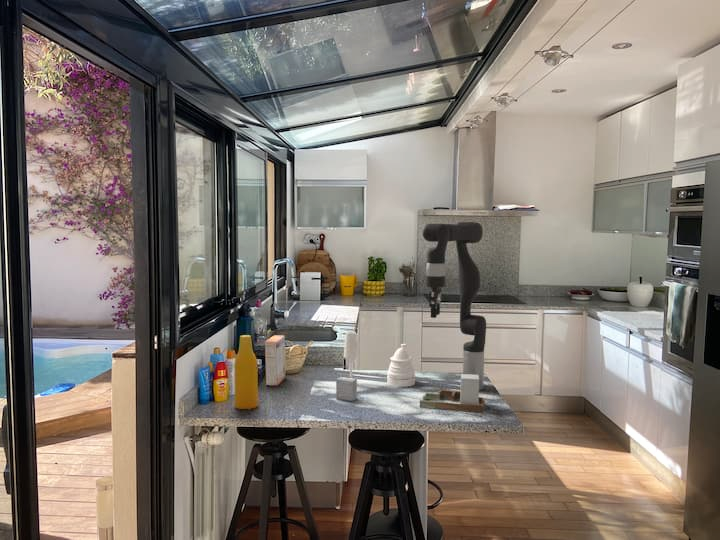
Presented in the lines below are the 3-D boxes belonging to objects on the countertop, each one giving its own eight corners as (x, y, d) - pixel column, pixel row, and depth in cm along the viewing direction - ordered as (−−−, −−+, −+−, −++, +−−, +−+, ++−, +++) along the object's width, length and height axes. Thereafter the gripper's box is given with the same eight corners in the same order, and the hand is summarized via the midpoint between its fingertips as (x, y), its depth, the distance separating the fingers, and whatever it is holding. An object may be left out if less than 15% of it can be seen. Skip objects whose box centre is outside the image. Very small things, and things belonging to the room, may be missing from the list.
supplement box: (478, 410, 221) (479, 379, 220) (459, 409, 223) (460, 378, 222) (478, 404, 229) (479, 374, 228) (460, 403, 230) (460, 373, 229)
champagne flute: (360, 385, 256) (360, 333, 254) (345, 386, 254) (345, 334, 252) (355, 381, 263) (355, 331, 261) (342, 382, 261) (342, 331, 259)
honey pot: (396, 377, 269) (396, 341, 267) (419, 382, 261) (420, 344, 260) (381, 383, 258) (382, 345, 257) (405, 388, 251) (405, 349, 249)
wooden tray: (427, 394, 242) (427, 388, 242) (485, 399, 235) (485, 393, 235) (419, 406, 226) (419, 400, 225) (482, 412, 219) (482, 406, 218)
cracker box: (273, 377, 269) (273, 334, 267) (285, 378, 268) (285, 335, 266) (264, 385, 255) (264, 340, 253) (277, 386, 254) (277, 341, 253)
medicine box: (357, 398, 236) (357, 378, 236) (352, 401, 232) (352, 381, 232) (340, 396, 240) (340, 376, 239) (335, 399, 236) (335, 379, 235)
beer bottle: (250, 411, 220) (249, 339, 218) (230, 408, 223) (229, 337, 221) (262, 404, 229) (261, 334, 227) (242, 401, 232) (241, 333, 230)
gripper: (442, 276, 210) (442, 319, 211) (447, 273, 224) (447, 313, 225) (422, 276, 212) (422, 318, 213) (429, 272, 226) (428, 312, 227)
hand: (435, 316), depth 219 cm, fingers open, 7 cm apart
